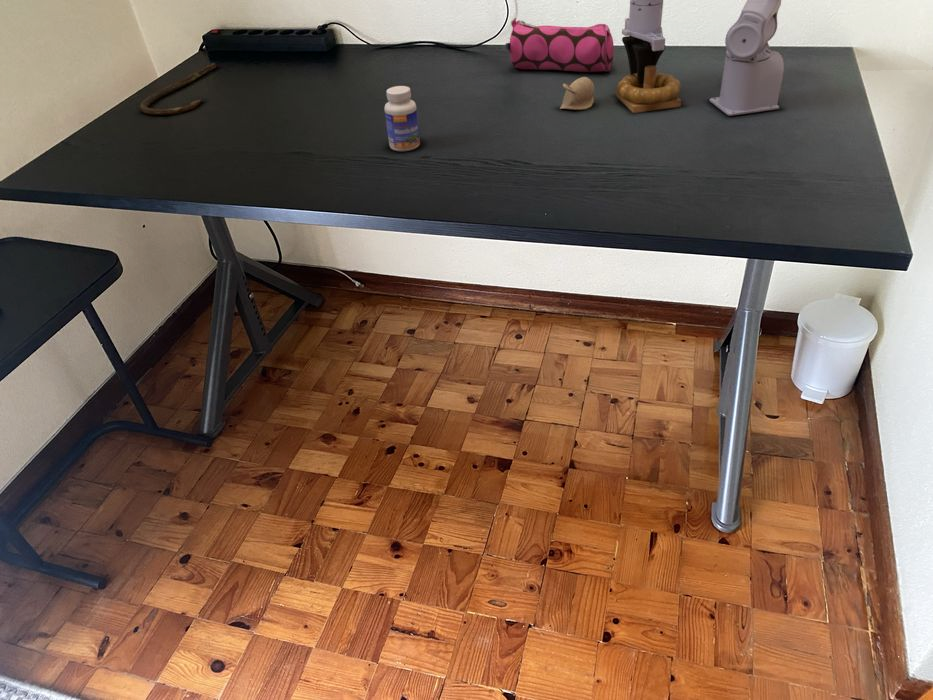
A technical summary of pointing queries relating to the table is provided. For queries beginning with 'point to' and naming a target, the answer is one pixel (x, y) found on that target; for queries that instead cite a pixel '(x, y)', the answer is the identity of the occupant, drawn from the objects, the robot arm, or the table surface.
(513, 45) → the pencil case
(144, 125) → the table surface
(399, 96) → the pill bottle
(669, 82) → the ring
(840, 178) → the table surface
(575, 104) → the decorative ornament
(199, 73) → the hook
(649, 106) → the stand
